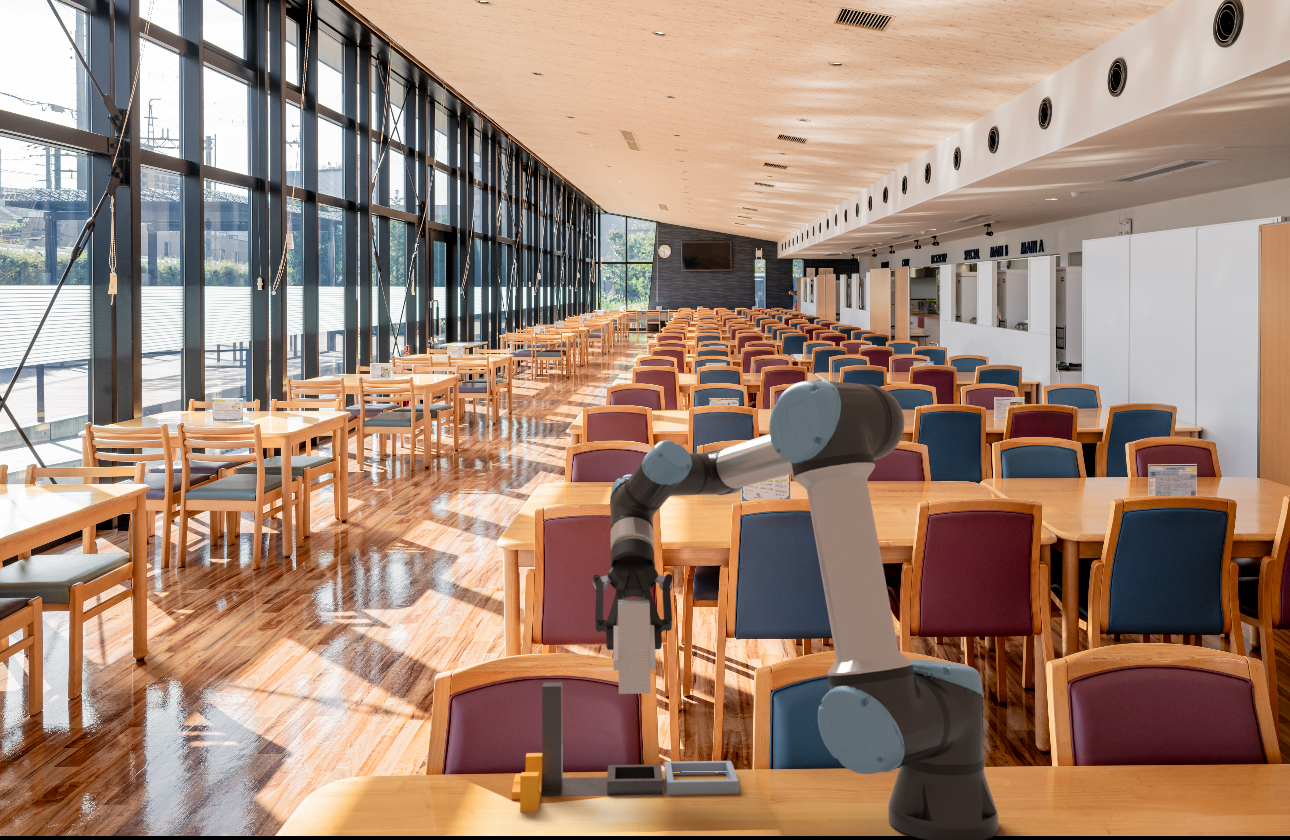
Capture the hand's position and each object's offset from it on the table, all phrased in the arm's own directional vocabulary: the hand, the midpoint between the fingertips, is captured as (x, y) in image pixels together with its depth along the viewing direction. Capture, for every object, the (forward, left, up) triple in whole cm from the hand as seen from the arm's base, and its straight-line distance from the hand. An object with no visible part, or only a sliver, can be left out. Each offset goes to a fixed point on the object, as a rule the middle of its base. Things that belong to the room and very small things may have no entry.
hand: (634, 664), depth 157 cm
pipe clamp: (+17, +2, -21) cm, 27 cm away
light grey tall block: (0, -4, -5) cm, 6 cm away
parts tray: (-10, -5, -21) cm, 24 cm away
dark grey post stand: (+5, -4, -21) cm, 22 cm away
